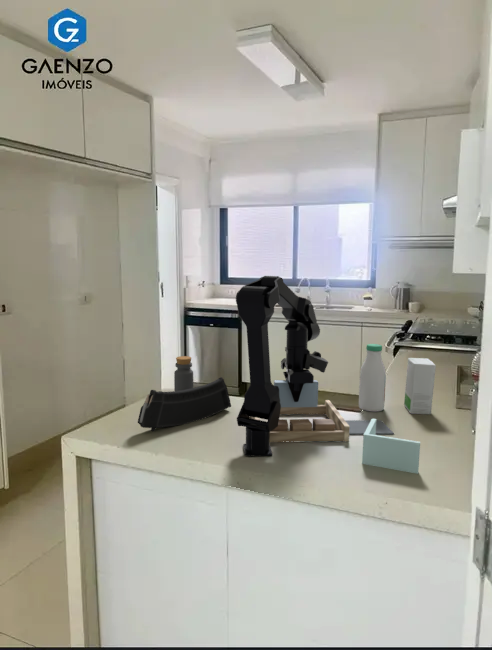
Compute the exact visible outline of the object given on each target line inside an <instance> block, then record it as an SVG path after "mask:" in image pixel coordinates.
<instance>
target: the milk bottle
mask: <svg viewBox="0 0 492 650" xmlns="http://www.w3.org/2000/svg"><path fill="white" fill-rule="evenodd" d="M365 349H366V356H365V359H364V361H363V363H362V365H361V367H360V371H359V373H360V375H359V386H358V388H359V389H358V390H359V391H358V408H359V409H361V410H363V411H366V412H382V411H383V410H384V409H385V402H386V401H385V400H386V384H387V383H386V380H387V377H386V376H387V375H386V373H387V372H386V367H385V364H384V362H383V359H382V352H383V346H382V345H381V344H377V343H368V344H366V348H365Z"/></svg>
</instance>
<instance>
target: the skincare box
mask: <svg viewBox="0 0 492 650" xmlns="http://www.w3.org/2000/svg"><path fill="white" fill-rule="evenodd" d="M436 368H437V365H436V364H435V363H434V362H433V360H431V359H429V358H428V357H427V358H425V357H420V358H419V357H408V358H407V368H406V376H405V377H406V379H405V380H406V381H405V391H404V403H403V405H404V407H405V408H406V409H407V411H408V412H409V414H414V415H415V414H416V415H432V407H433V397H434V388H435V378H436V377H435V376H436Z"/></svg>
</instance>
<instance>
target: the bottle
mask: <svg viewBox="0 0 492 650" xmlns="http://www.w3.org/2000/svg"><path fill="white" fill-rule="evenodd" d="M175 359H176V363H175V365H174V367H176V368H177V369H176V370H174V372H173V373H174V375H173V377H174V378H173V382H174V384H173V385H174V391H181V390H187V389H192V388H194V371H193V370H192V369H191V367H193V363H192V362H191V361H192V357H191V356H187V355H183V356H181V355H180V356H176V357H175Z"/></svg>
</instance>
